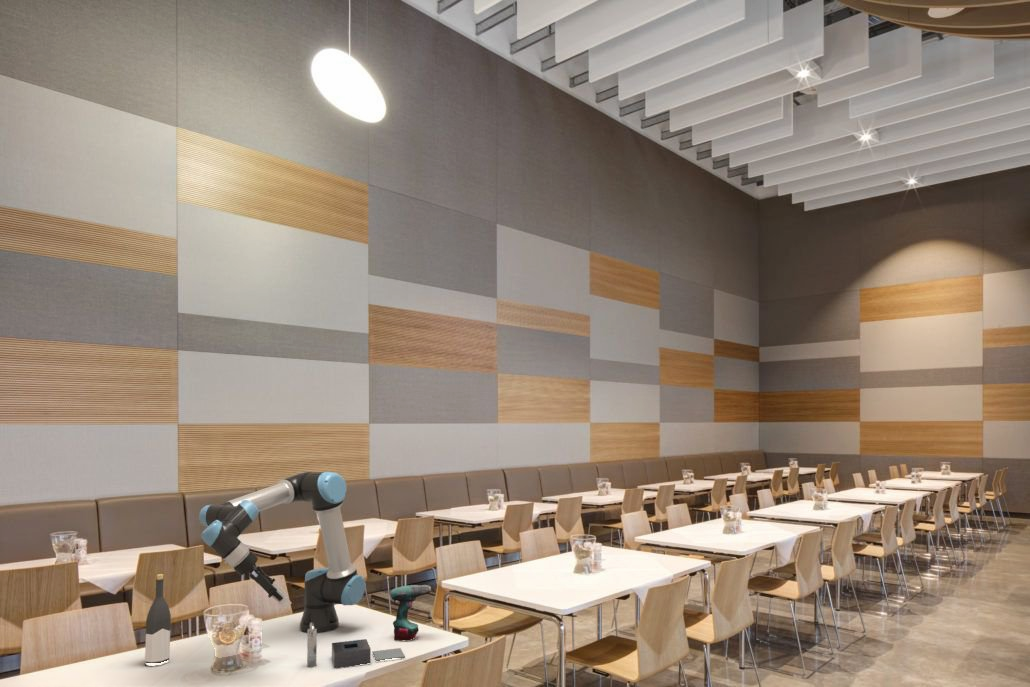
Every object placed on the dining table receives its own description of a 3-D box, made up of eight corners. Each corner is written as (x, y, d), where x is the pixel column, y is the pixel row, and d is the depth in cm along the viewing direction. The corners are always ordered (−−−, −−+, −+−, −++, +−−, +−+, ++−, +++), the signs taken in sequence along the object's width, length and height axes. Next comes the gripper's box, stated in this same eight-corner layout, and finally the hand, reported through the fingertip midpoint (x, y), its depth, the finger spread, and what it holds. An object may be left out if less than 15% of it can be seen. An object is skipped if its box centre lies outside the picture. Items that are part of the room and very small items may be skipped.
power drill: (428, 642, 265) (428, 587, 268) (387, 641, 269) (387, 586, 271) (434, 636, 272) (434, 583, 275) (394, 635, 276) (394, 582, 278)
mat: (372, 653, 254) (372, 651, 254) (400, 650, 257) (400, 647, 257) (376, 662, 245) (376, 660, 245) (405, 658, 248) (405, 656, 248)
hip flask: (306, 663, 246) (307, 622, 247) (315, 662, 247) (316, 621, 248) (307, 670, 238) (308, 628, 240) (317, 669, 239) (317, 627, 241)
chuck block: (331, 657, 251) (331, 643, 251) (366, 653, 255) (366, 639, 255) (334, 668, 239) (334, 653, 240) (370, 664, 243) (370, 648, 244)
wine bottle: (165, 657, 255) (167, 571, 258) (173, 662, 249) (176, 574, 253) (141, 663, 250) (143, 575, 253) (148, 668, 244) (151, 578, 247)
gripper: (231, 562, 249) (275, 603, 252) (233, 574, 226) (281, 619, 229) (248, 545, 251) (291, 586, 255) (251, 555, 228) (298, 600, 232)
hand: (286, 601), depth 242 cm, fingers open, 13 cm apart
